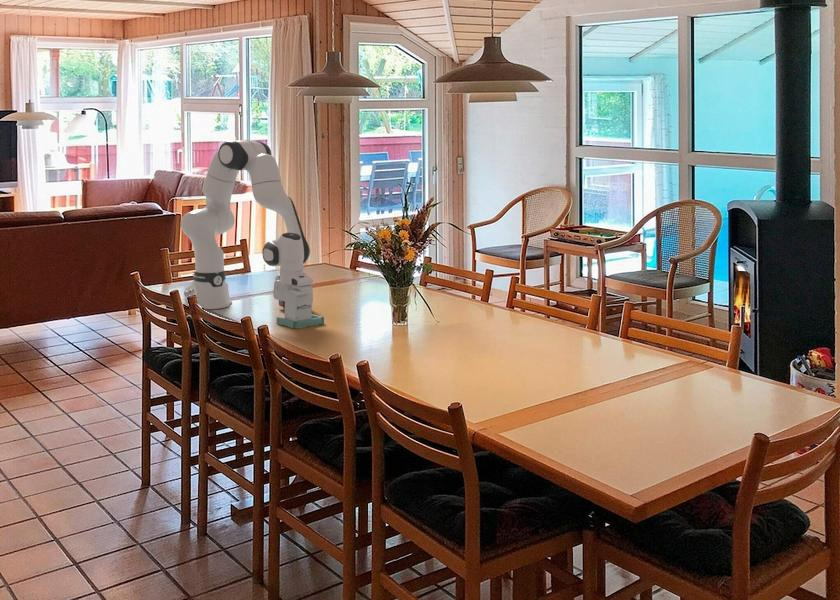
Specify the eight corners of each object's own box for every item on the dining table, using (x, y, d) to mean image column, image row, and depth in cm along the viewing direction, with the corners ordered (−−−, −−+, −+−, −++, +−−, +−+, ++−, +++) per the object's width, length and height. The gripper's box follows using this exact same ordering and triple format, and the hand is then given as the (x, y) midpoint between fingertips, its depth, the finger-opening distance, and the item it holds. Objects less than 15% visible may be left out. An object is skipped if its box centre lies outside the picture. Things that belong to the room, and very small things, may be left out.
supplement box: (294, 328, 337) (295, 294, 334) (283, 323, 342) (284, 289, 339) (312, 325, 341) (313, 291, 338) (300, 320, 347) (301, 287, 344)
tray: (276, 323, 343) (276, 317, 343) (305, 318, 352) (305, 312, 352) (295, 329, 335) (294, 322, 335) (324, 323, 344) (324, 317, 343)
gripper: (268, 274, 349) (269, 311, 352) (301, 282, 335) (302, 320, 337) (282, 273, 353) (283, 309, 356) (315, 280, 339) (316, 317, 342)
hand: (292, 314), depth 347 cm, fingers closed
